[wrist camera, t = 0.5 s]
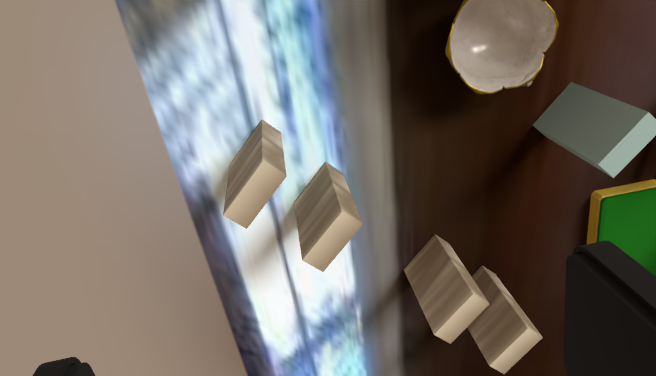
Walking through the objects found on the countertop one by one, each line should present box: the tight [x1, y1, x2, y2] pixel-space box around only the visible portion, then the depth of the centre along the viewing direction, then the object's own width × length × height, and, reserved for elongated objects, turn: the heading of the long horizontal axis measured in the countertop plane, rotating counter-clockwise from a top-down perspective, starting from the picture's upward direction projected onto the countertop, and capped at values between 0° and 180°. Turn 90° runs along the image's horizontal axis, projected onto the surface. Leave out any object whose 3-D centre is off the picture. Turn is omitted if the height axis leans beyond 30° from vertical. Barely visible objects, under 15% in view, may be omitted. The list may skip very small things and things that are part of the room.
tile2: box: [294, 162, 363, 272], centre depth 42 cm, size 2×5×10 cm, turn 143°
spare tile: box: [533, 82, 656, 178], centre depth 42 cm, size 2×5×10 cm, turn 143°
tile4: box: [404, 235, 489, 344], centre depth 47 cm, size 2×5×10 cm, turn 143°
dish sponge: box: [587, 179, 656, 276], centre depth 53 cm, size 7×14×2 cm, turn 9°
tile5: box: [468, 266, 543, 374], centre depth 49 cm, size 2×5×10 cm, turn 143°
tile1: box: [223, 120, 286, 229], centre depth 40 cm, size 2×5×10 cm, turn 143°
